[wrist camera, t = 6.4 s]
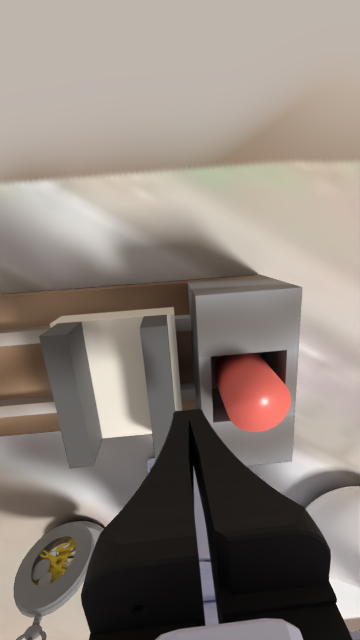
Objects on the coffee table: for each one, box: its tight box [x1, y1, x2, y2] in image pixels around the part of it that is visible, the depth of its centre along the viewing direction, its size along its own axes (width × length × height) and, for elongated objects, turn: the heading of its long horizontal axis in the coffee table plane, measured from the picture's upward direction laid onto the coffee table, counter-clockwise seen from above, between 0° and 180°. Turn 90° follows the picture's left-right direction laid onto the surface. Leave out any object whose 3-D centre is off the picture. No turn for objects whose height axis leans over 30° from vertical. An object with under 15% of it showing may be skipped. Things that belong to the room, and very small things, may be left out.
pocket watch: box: [14, 521, 104, 640], centre depth 23 cm, size 8×8×10 cm
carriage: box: [39, 307, 182, 468], centre depth 18 cm, size 9×8×4 cm
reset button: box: [214, 353, 291, 432], centre depth 16 cm, size 4×4×4 cm
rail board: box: [0, 275, 302, 466], centre depth 19 cm, size 12×26×7 cm, turn 94°
